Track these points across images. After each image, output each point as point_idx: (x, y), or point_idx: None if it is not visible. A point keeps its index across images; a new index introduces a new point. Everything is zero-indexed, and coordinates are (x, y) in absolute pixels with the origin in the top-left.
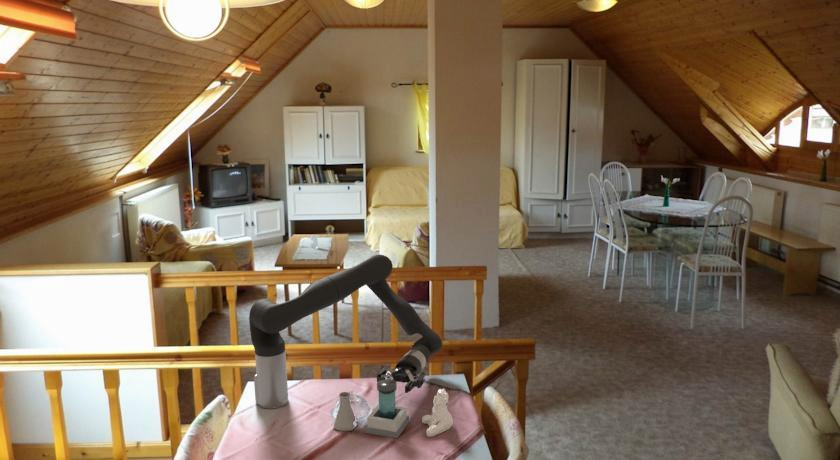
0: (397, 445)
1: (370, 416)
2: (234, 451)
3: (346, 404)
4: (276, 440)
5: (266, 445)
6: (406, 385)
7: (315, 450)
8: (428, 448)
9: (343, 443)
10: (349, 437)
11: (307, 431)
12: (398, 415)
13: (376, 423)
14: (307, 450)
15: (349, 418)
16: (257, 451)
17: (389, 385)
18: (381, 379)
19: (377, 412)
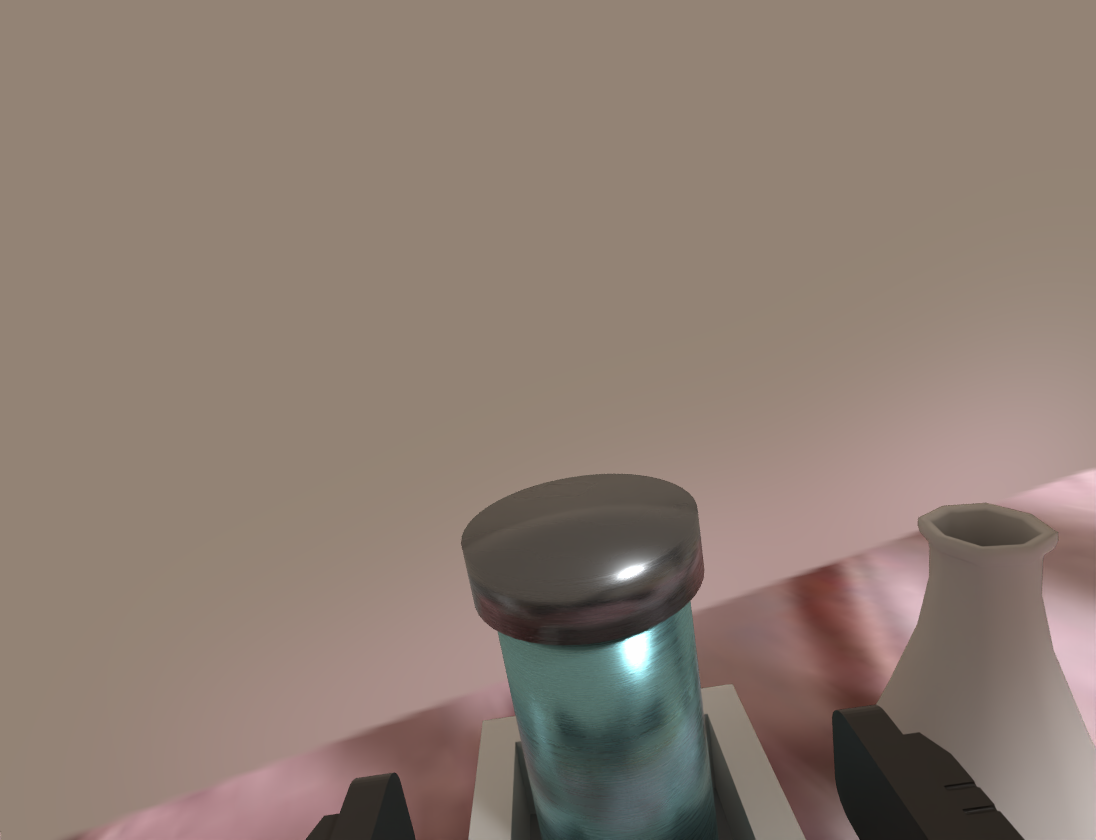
0: (467, 748)
1: (721, 703)
2: (1088, 474)
3: (930, 589)
4: (1079, 547)
5: (1055, 521)
6: (370, 795)
7: (835, 572)
8: (260, 800)
9: (772, 646)
10: (796, 694)
11: (1081, 639)
12: (494, 815)
13: None
14: (865, 561)
15: (888, 683)
16: (1023, 498)
17: (530, 512)
18: (926, 793)
19: (744, 824)
